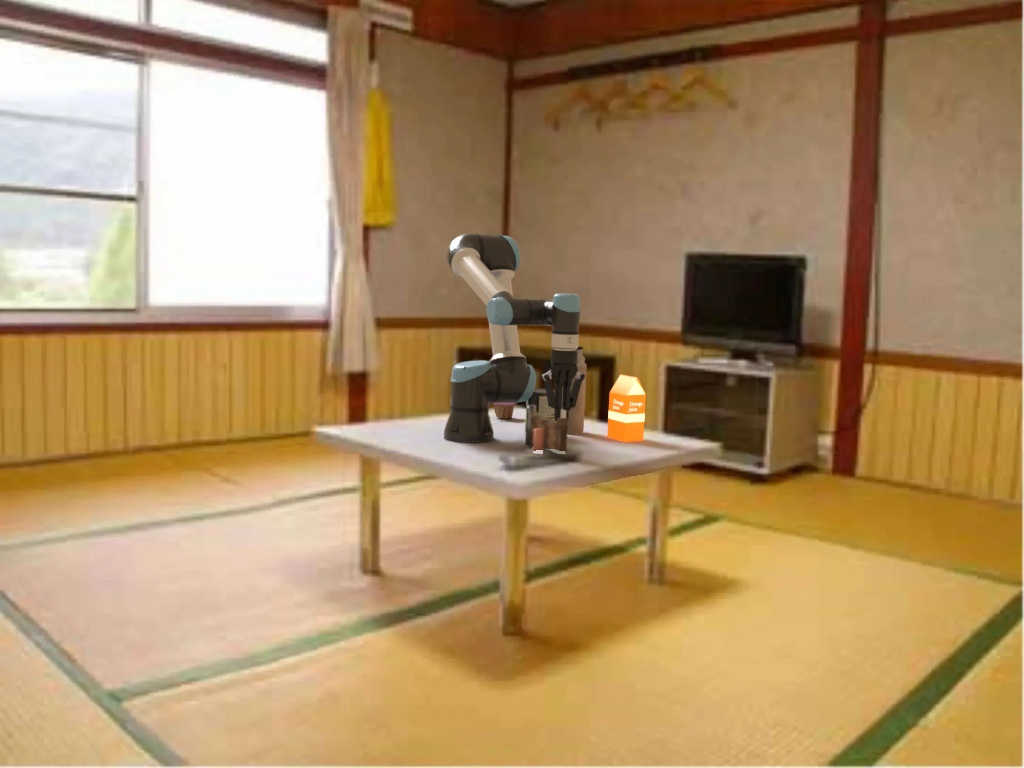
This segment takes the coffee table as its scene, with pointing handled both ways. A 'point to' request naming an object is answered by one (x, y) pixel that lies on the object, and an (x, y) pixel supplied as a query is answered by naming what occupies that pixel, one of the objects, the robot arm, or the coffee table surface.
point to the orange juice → (626, 410)
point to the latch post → (538, 439)
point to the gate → (551, 432)
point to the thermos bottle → (578, 400)
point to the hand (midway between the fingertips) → (560, 432)
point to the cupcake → (504, 410)
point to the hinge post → (529, 423)
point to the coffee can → (540, 404)
